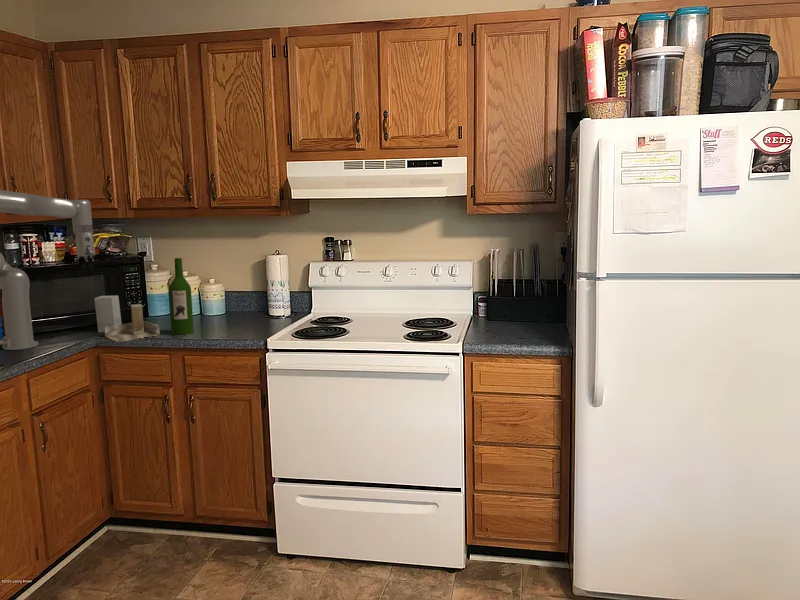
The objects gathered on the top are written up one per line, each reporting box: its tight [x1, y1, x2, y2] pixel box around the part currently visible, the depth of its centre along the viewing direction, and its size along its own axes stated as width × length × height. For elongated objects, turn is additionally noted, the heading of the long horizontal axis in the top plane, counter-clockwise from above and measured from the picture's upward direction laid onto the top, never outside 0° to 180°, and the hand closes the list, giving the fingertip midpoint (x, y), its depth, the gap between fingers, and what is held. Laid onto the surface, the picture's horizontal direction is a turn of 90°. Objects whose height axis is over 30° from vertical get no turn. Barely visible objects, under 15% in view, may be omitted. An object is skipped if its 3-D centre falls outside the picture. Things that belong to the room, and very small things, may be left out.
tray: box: [104, 320, 161, 343], centre depth 289 cm, size 18×14×4 cm
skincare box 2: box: [130, 303, 144, 335], centre depth 291 cm, size 6×4×12 cm
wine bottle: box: [168, 257, 195, 336], centre depth 291 cm, size 9×9×32 cm
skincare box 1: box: [94, 294, 123, 333], centre depth 300 cm, size 8×7×16 cm
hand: (86, 270), depth 287 cm, fingers open, 9 cm apart
